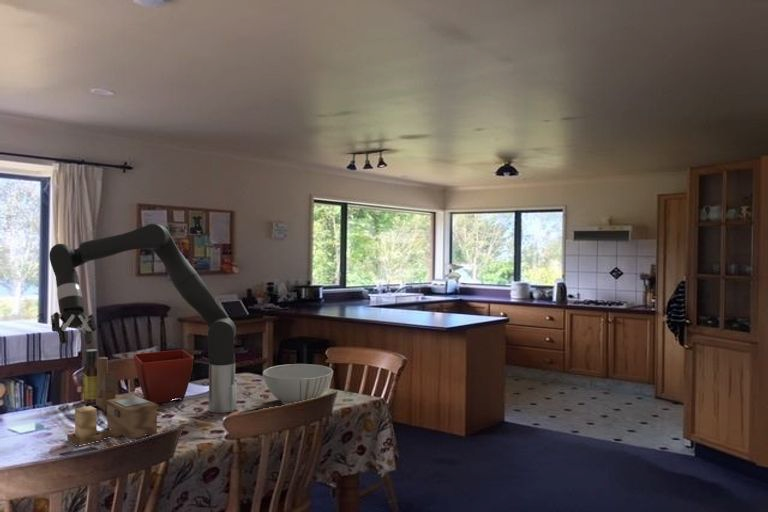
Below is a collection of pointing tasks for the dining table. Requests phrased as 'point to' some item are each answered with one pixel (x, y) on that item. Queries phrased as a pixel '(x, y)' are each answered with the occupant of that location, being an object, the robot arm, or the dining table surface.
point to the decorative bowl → (297, 381)
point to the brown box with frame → (125, 419)
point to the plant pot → (163, 374)
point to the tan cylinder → (85, 422)
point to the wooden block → (104, 383)
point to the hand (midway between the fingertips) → (76, 343)
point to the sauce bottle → (90, 376)
